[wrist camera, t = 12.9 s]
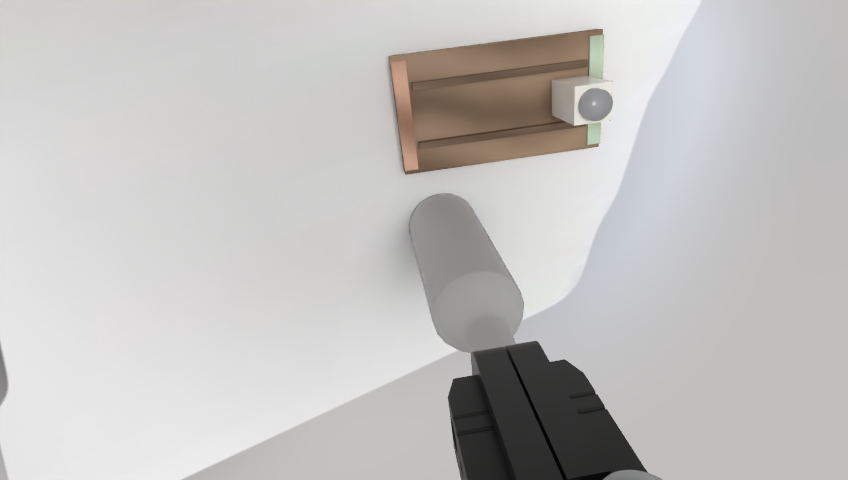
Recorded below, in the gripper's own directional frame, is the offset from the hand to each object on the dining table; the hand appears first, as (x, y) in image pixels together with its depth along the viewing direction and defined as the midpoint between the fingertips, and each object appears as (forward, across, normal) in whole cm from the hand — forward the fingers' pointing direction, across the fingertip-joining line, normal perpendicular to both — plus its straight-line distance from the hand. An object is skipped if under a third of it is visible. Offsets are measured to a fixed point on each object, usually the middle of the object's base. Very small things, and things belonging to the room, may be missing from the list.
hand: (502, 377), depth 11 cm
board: (+35, -9, 0) cm, 36 cm away
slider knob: (+34, -15, 0) cm, 37 cm away
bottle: (+35, -3, +11) cm, 37 cm away
